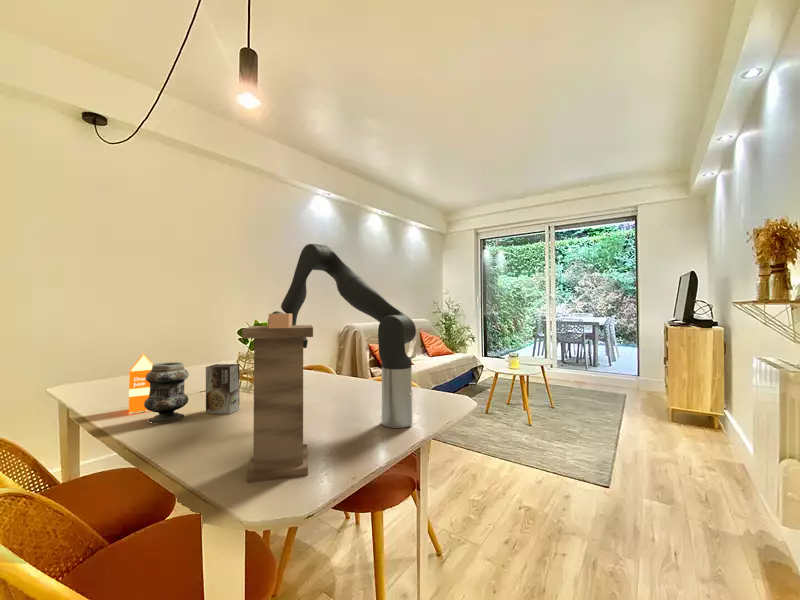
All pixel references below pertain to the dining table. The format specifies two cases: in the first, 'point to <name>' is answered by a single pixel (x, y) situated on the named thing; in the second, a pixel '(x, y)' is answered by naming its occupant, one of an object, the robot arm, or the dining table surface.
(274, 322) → the block
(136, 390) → the orange juice
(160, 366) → the apothecary jar
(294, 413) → the stand
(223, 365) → the coffee box
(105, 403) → the dining table surface
